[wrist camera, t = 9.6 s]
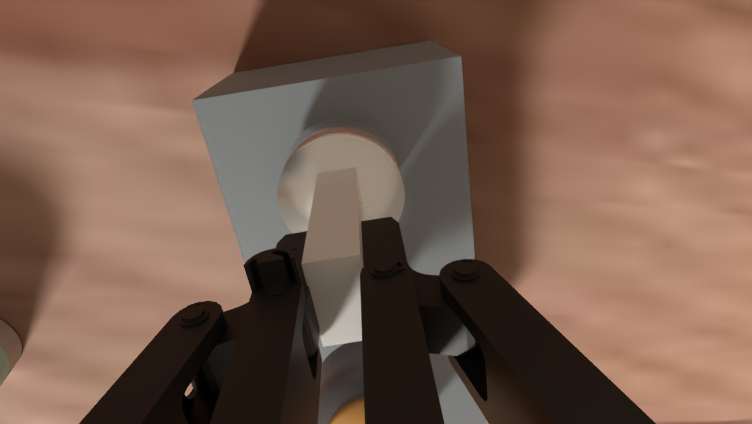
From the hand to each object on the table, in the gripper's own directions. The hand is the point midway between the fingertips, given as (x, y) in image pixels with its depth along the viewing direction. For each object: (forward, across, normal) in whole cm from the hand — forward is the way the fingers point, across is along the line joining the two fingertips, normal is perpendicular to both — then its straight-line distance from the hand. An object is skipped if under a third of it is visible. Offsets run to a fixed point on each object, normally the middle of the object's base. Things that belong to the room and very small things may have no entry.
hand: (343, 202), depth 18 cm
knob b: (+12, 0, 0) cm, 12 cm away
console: (+13, 0, -8) cm, 15 cm away
